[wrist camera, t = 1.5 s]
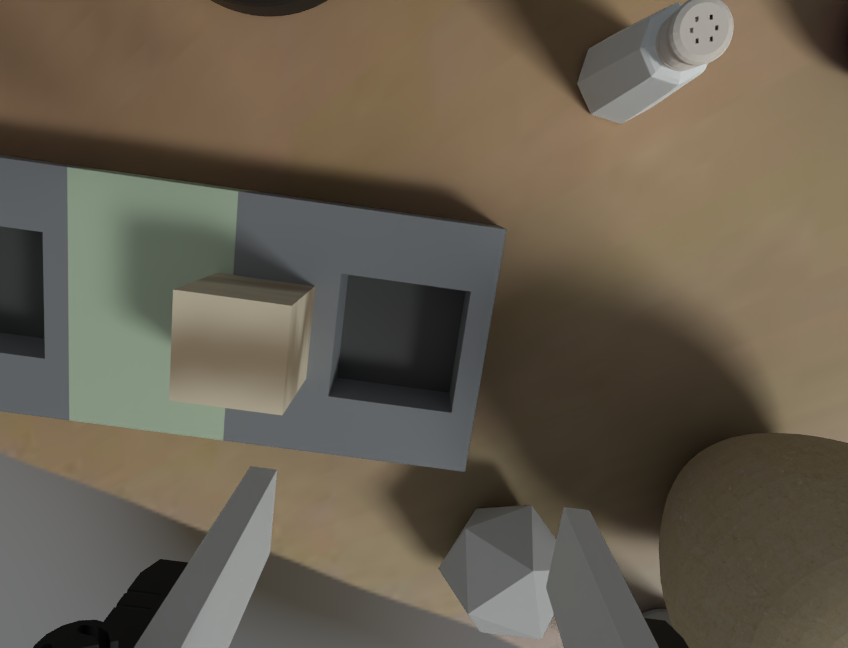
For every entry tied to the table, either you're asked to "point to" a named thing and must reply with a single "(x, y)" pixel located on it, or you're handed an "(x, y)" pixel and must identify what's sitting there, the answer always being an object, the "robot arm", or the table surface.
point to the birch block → (240, 342)
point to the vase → (759, 544)
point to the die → (503, 571)
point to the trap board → (250, 257)
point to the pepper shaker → (653, 58)
